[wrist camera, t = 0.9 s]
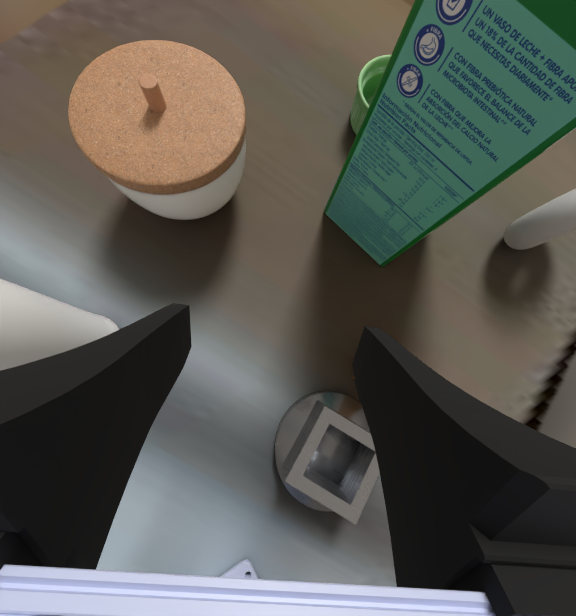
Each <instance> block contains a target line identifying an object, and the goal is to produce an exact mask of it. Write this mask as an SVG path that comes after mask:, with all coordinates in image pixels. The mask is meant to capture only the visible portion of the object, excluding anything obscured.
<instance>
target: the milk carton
mask: <svg viewBox="0 0 576 616" xmlns="http://www.w3.org/2000/svg"><path fill="white" fill-rule="evenodd" d="M575 129H576V0H415V2H414V4H413V6H412V9H411V11H410V13H409V15H408V18H407V20H406V22H405V25H404V27H403V29H402V32H401V34H400V36H399V39H398V41H397V43H396V45H395V48H394V50H393V52H392V55H391V57H390V59H389V62H388V64H387V66H386V69H385V71H384V73H383V75H382V78H381V80H380V82H379V85H378V87H377V89H376V92H375V94H374V96H373V99H372V101H371V103H370V105H369V108H368V110H367V112H366V115H365V117H364V119H363V122H362V124H361V126H360V129H359V131H358V133H357V136H356V138H355V140H354V142H353V145H352V147H351V149H350V152H349V154H348V156H347V159H346V161H345V163H344V166H343V168H342V170H341V172H340V175H339V177H338V179H337V182H336V184H335V186H334V189H333V191H332V193H331V196H330V198H329V200H328V202H327V205H326V207H325V209H324V213H325V214H326V215H327V216H328V217H329V218H331V219H332V220H333V221H334V222H335V223H336V224H337V225H338V226H339V227H340V228H341V229H342V230H343V231H344V232H345V233H346V234H347V235H349V236H350V237H351V238H352V239H353V240H354V241H355V242H356V243H357V244H358V245H359V246H360V247H361V248H362V249H363V250H364V251H365V252H367V253H368V254H369V255H370V256H371V257H372V258H373V259H374V260H375V261H376V262H377V263H378V264H379V265H380V266H381V267H384V266H385V265H386V264H388V263H389V262H391V261H392V260H393V259H395V258H396V257H398V256H399V255H400V254H402V253H403V252H405V251H406V250H407V249H409V248H410V247H412V246H413V245H414V244H416V243H417V242H419V241H420V240H421V239H423V238H424V237H426V236H427V235H428V234H430V233H431V232H433V231H434V230H435V229H437V228H438V227H440V226H441V225H442V224H444V223H445V222H446V221H448V220H449V219H451V218H452V217H453V216H455V215H456V214H458V213H459V212H460V211H462V210H463V209H465V208H466V207H467V206H469V205H470V204H472V203H473V202H474V201H476V200H477V199H479V198H480V197H481V196H483V195H484V194H486V193H487V192H488V191H490V190H491V189H493V188H494V187H495V186H497V185H498V184H499V183H501V182H502V181H504V180H505V179H506V178H508V177H509V176H511V175H512V174H513V173H515V172H516V171H518V170H519V169H520V168H522V167H523V166H525V165H526V164H527V163H529V162H530V161H532V160H533V159H534V158H536V157H537V156H539V155H540V154H541V153H543V152H544V151H546V150H547V149H548V148H550V147H551V146H553V145H554V144H555V143H557V142H558V141H559V140H561V139H562V138H564V137H565V136H566V135H568V134H569V133H571V132H572V131H573V130H575Z"/></svg>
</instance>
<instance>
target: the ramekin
mask: <svg viewBox="0 0 576 616" xmlns="http://www.w3.org/2000/svg"><path fill="white" fill-rule="evenodd" d="M390 57H391V55H384V56H380V57H377V58H375V59H373V60H371V61H370V62H368V63H367V64H366V65H365V66H364V67H363V69H362V71H361V73H360V75H359V78H358V83H357V92H356V95H355V99H354V102H353V106H352V110H351V116H350V120H351V125H352V128H353V131H354V132H355V134H356V136H357V133H358V131H359V129H360V126H361V124H362V122H363V119H364V117H365V115H366V112H367V110H368V108H369V105H370V103H371V101H372V99H373V96H374V94H375V92H376V89H377V87H378V85H379V82H380V80H381V78H382V75H383V73H384V71H385V69H386V66H387V64H388V62H389V59H390Z"/></svg>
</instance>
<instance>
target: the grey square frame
mask: <svg viewBox="0 0 576 616" xmlns="http://www.w3.org/2000/svg"><path fill="white" fill-rule="evenodd" d="M275 458H276V465H277V469H278V472H279V475H280V478H281V480H282V482H283V484H284V485H285V487H286V489H287V490H288V491H289V492H290V494H291V495H292V496H293V497H294V498H295V499H296V500H298V501H299V502H301V503H302V504H303V505H305V506H307V507H309V508H312V509H315V510H319V511H328V512H332V511H334V512H336V513H337V514H339V515H341V516H342V517H344V518H345V519H347V520H349V521H350V522H352V523H354V524H355V525H356V524H357V521H358V519H359V517H360V515H361V513H362V510H363V508H364V506H365V504H366V502H367V500H368V497H369V495H370V493H371V491H372V489H373V487H374V484H375V482H376V480H377V479H378V476H379V473H380V471H379V466H378V462H377V457H376V452H375V447H374V444H373V440H372V436H371V433H370V430H369V427H368V423H367V420H366V417H365V414H364V411H363V408H362V404H360V403H359V402H358V401H356V400H354V399H353V398H351V397H349V396H347V395H344V394H342V393H338V392H334V391H319V392H314V393H311V394H308V395H306V396H304V397H302V398H301V399H299V400H298V401H296V402H295V403H294V404H293V405H292V406H291V407H290V408H289V409H288V410H287V412H286V413H285V415H284V416H283V418H282V420H281V422H280V424H279V426H278V429H277V433H276V438H275Z"/></svg>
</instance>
